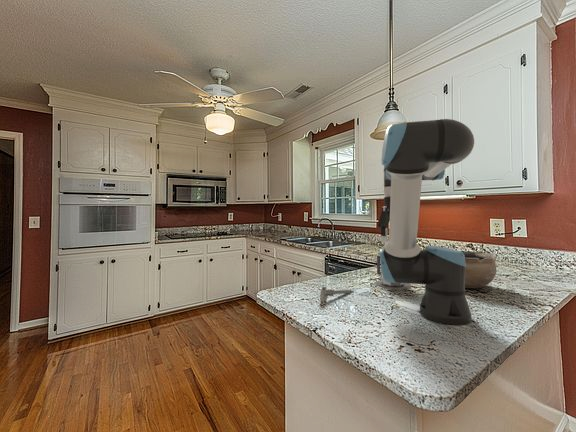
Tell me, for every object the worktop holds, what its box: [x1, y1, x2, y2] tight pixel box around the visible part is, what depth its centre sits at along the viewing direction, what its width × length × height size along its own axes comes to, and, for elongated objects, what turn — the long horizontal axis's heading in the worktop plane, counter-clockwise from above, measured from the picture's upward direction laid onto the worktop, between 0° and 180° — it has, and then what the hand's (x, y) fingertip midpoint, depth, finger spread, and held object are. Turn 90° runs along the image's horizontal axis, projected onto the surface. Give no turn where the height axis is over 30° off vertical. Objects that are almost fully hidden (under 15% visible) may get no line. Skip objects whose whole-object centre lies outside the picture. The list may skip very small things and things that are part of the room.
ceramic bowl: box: [460, 250, 498, 289], centre depth 125 cm, size 22×22×15 cm
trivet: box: [374, 279, 412, 291], centre depth 126 cm, size 16×16×1 cm
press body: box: [376, 252, 405, 287], centre depth 127 cm, size 13×10×15 cm
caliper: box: [319, 286, 354, 303], centre depth 112 cm, size 20×1×6 cm, turn 131°
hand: (392, 241), depth 126 cm, fingers open, 13 cm apart
